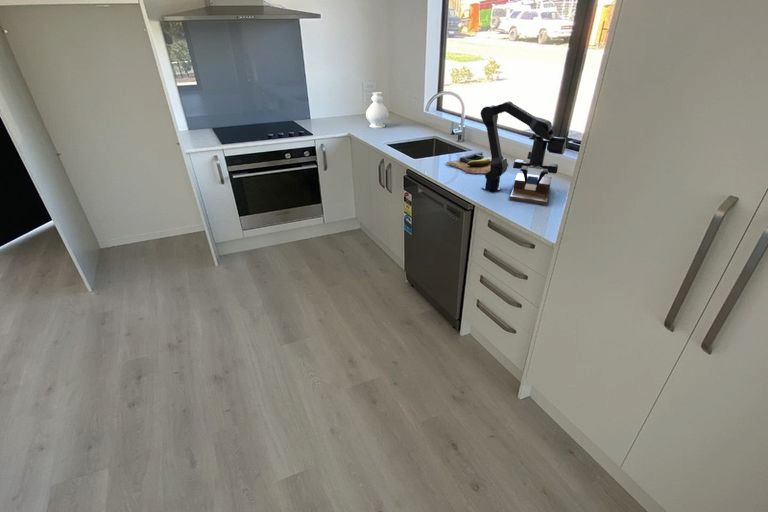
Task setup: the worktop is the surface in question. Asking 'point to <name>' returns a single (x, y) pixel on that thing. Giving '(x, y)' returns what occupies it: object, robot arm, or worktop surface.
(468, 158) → the door handle
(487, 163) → the cutting board
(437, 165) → the worktop surface
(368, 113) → the decorative vase
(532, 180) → the blue sleeved eraser
